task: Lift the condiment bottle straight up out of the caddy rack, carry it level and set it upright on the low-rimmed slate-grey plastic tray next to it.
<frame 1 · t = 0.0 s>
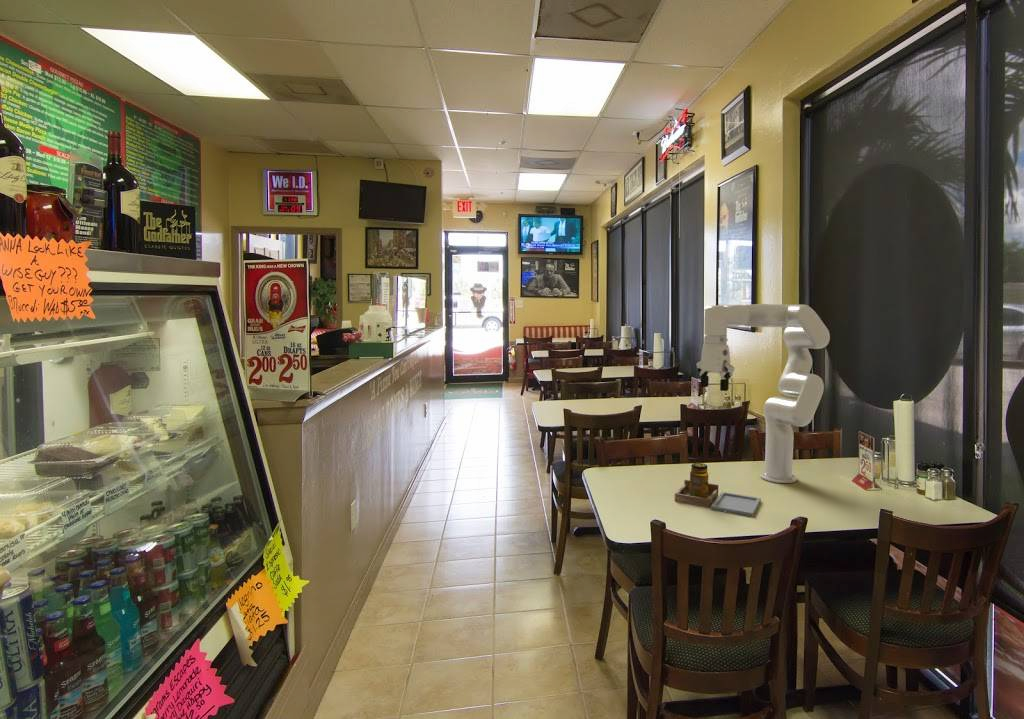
hand: (714, 388, 194), 37 cm above the table, tool pointing down, fingers open, 9 cm apart
condiment: (696, 499, 189), resting in caddy
tray: (736, 505, 182), on the table
caddy: (696, 498, 189), on the table
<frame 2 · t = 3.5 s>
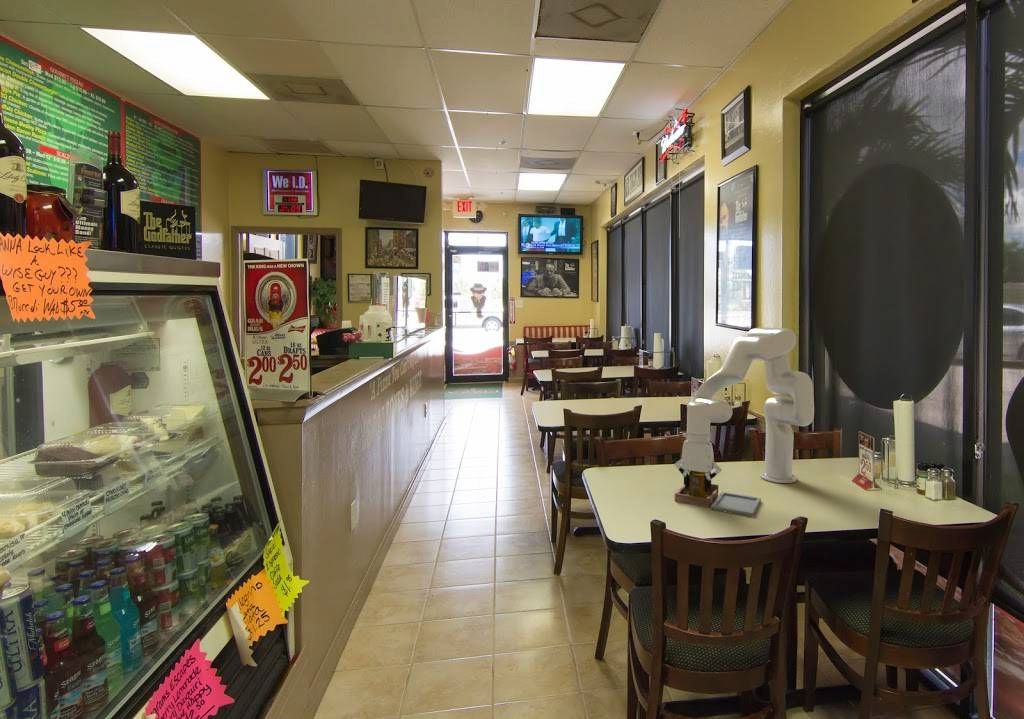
hand: (697, 488, 189), 4 cm above the table, tool pointing down, fingers closed on condiment, 6 cm apart
condiment: (695, 498, 190), resting in caddy, touching gripper
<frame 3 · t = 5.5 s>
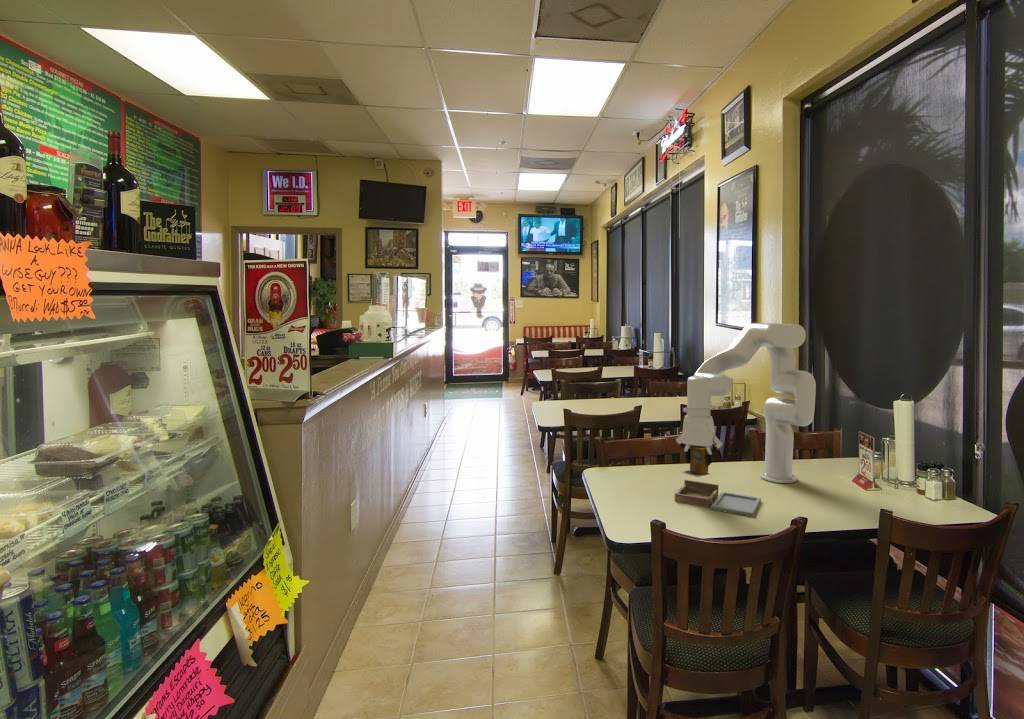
hand: (698, 462, 189), 13 cm above the table, tool pointing down, fingers closed on condiment, 6 cm apart
condiment: (697, 473, 189), point 9 cm above the table, touching gripper
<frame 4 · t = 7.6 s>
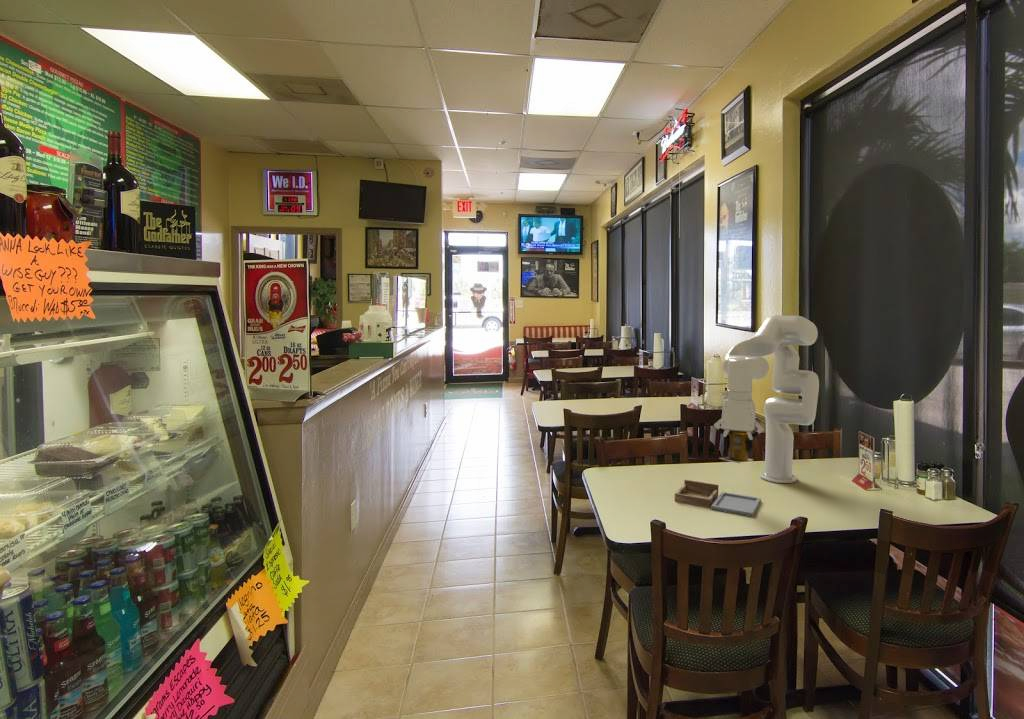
hand: (738, 448, 181), 19 cm above the table, tool pointing down, fingers closed on condiment, 6 cm apart
condiment: (736, 460, 181), point 15 cm above the table, touching gripper
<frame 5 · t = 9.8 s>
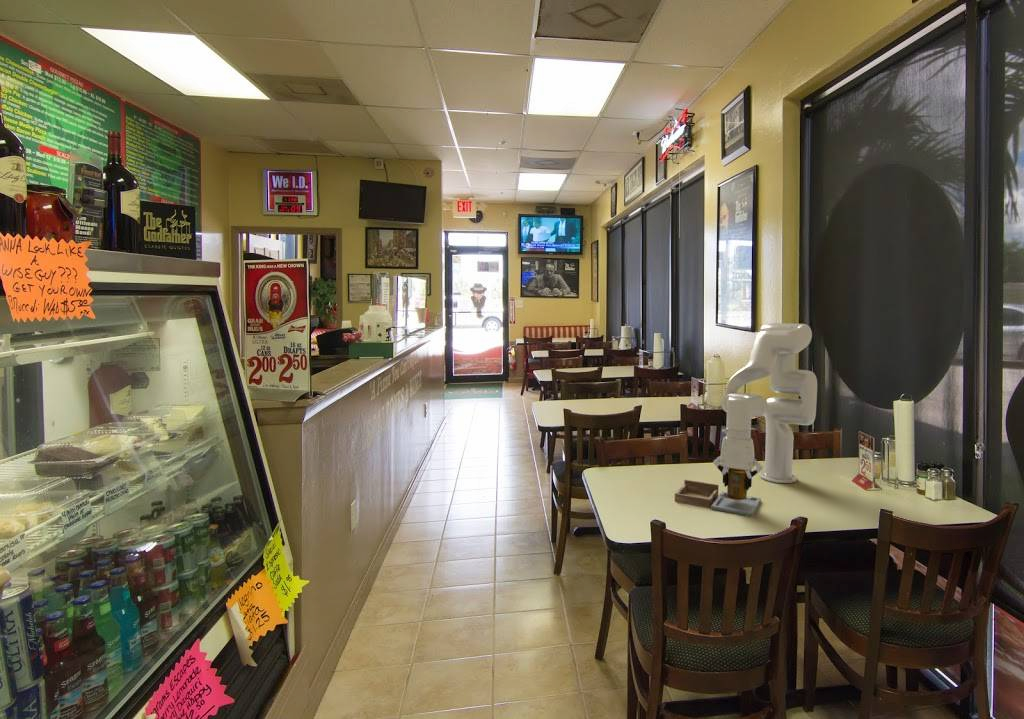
hand: (736, 486, 182), 6 cm above the table, tool pointing down, fingers closed on condiment, 6 cm apart
condiment: (734, 497, 182), point 3 cm above the table, touching gripper
when the fingers open (4 cm above the table, at t = 11.5 s): condiment stays where it is, resting on tray.
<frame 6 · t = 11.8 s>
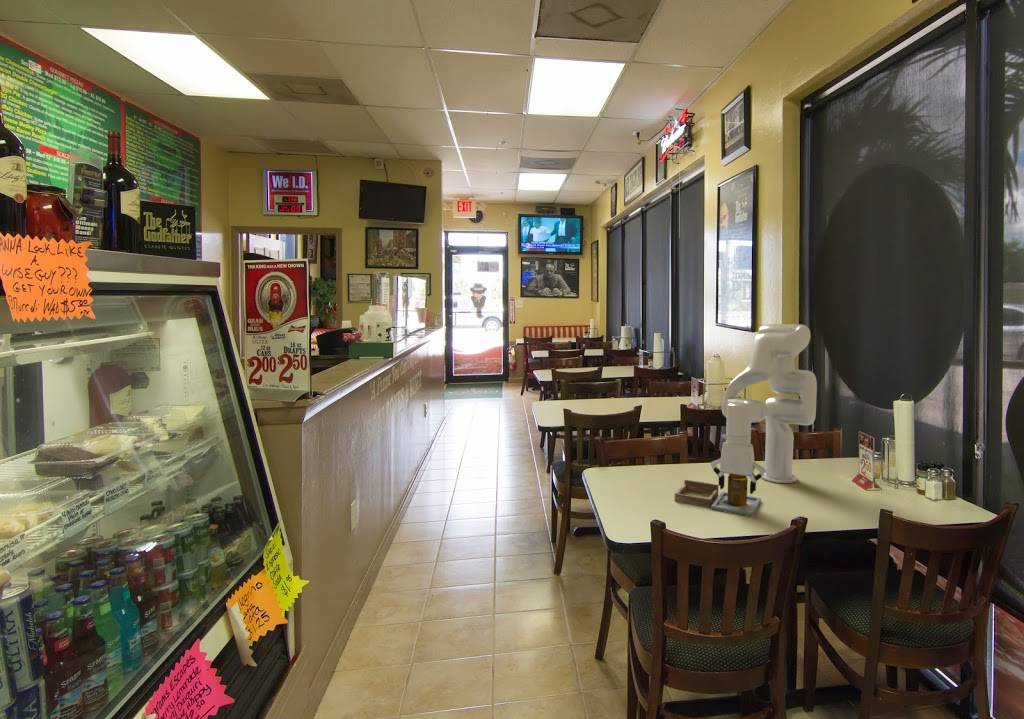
hand: (736, 490, 182), 5 cm above the table, tool pointing down, fingers open, 9 cm apart
condiment: (735, 504, 182), resting on tray
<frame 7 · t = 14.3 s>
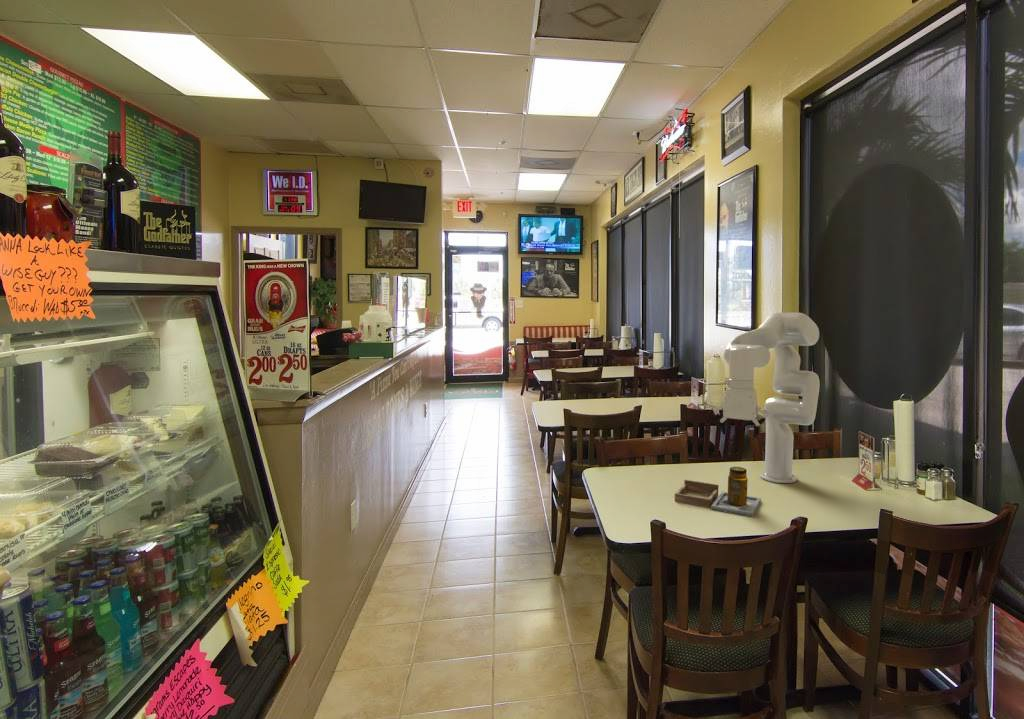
hand: (739, 435, 181), 24 cm above the table, tool pointing down, fingers open, 9 cm apart
nothing on the table moved.
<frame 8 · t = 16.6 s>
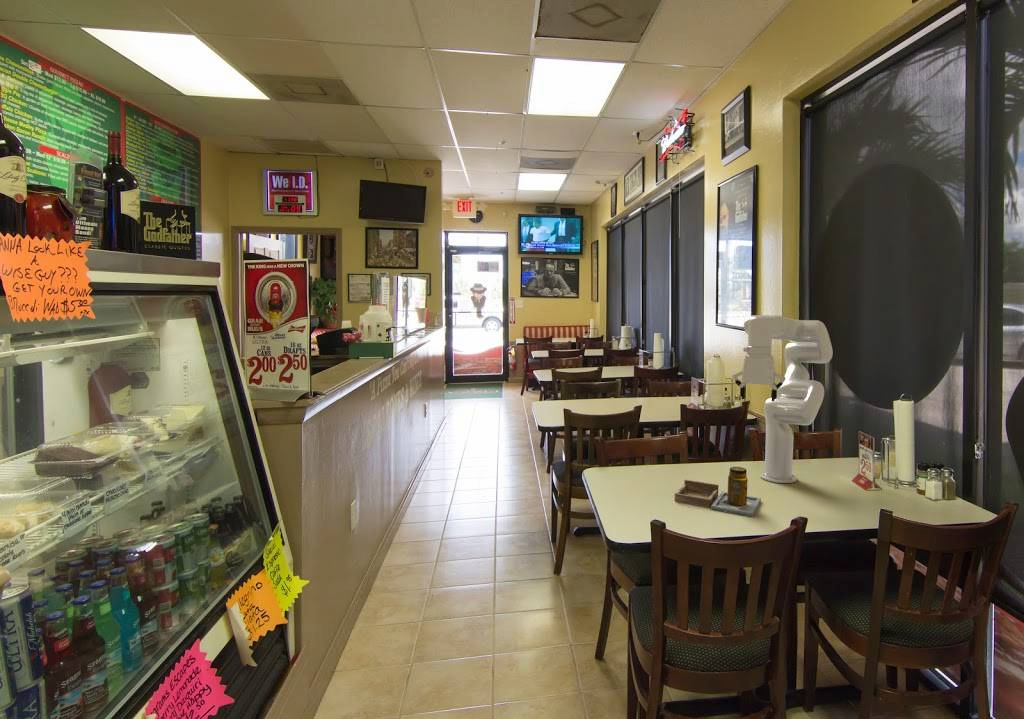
hand: (758, 399, 193), 33 cm above the table, tool pointing down, fingers open, 9 cm apart
nothing on the table moved.
at the end: condiment inside the target area on the tray (0.4 cm from its centre), point 0.3 cm above the tray's base; condiment tilted 0°; the gripper is holding nothing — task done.
